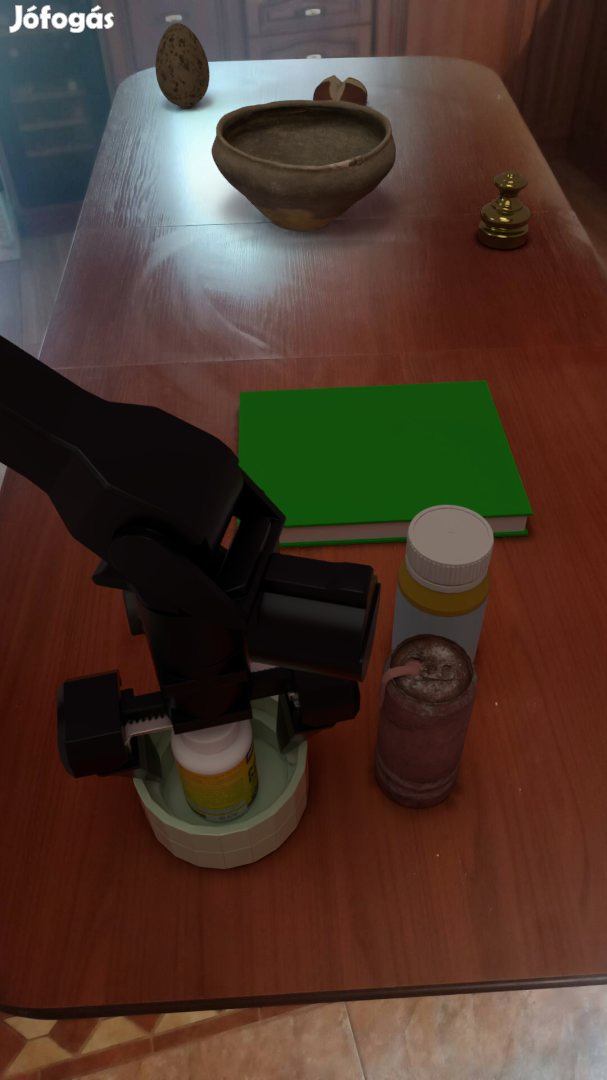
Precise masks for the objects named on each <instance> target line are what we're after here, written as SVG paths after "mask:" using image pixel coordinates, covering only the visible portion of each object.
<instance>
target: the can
mask: <svg viewBox="0 0 607 1080" xmlns="http://www.w3.org/2000/svg"><path fill="white" fill-rule="evenodd" d="M478 681H479V677H478V673H477V669H476V665H475V664H474V662H473V663H472V659H471V658H470V656H469V655H468V653H467V652H466V650H465V649H464V648H463V647H462V646H460V645H459V644H458V643H457V642H455V641H454V640H451V639H449V638H447V637H445V636H442V635H436V634H431V633H430V634H417V635H414V636H411V637H408V638H406V639H404V640H403V641H402V642H400V643H399V644H398V645H397V646H396V647H395V648H394V649H393V650H392V649H391V650H390V652H389V653H388V654H387V656H386V658H385V660H384V662H383V667H382V671H381V678H380V682H379V689H378V702H379V703H378V704H379V707H378V720H377V732H376V746H375V759H374V772H375V779H376V781H377V782H378V785H379V787H380V789H381V790H382V791H383V792H384V793H385V794H386V795H387V797H389V798H390V799H391V800H393V801H395V802H396V803H398V804H400V805H401V806H404V807H410V808H414V809H419V808H420V809H421V808H431V807H432V806H435V805H437V804H440V803H441V802H442V801H444V800H445V799H446V798H447V797H448V796H449V795H450V794H451V793H452V790H453V789H454V786H455V785H456V781H457V776H458V772H459V769H460V768H459V767H460V763H461V759H462V754H463V750H464V746H465V742H466V737H467V734H468V729H469V725H470V721H471V716H472V712H473V708H474V704H475V699H476V695H477V691H478V690H477V689H478Z"/></svg>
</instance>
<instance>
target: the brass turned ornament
mask: <svg viewBox="0 0 607 1080" xmlns="http://www.w3.org/2000/svg"><path fill="white" fill-rule="evenodd" d="M492 182H493V185H494V186H495V187H496V188H497V189H498V191H499V193H498V194H497V196H496V197H494V198H493V199H492V200H490V201H488V202H487V203H484V205H482V207H481V208H480V213H479V215H480V216H479V217H480V221H479V222H478V231H477V239H478V241H479V242H480V243H481V244H482V245H484V246H486V247H488V248H491V249H496V250H512V249H517V248H519V247H521V246H523V245H524V244H525V243H526V242H527V238H528V232H529V230H530V227H529V223H530V220H531V218H532V212H531V209H530V208H529V206H528V205H527V204H525V203H524V202H523V201H522V199H521V198H520V197H519V193H520V192H521V191H523V190H524V189H526V188H527V187H528V185H529V178H528V177H527V176H526V175H524V174H522V173H521V172H519V171H518V170H515V169H509V170H506V171H503V172H500V173H498V174H496V175H495V176H494V177H493V179H492Z"/></svg>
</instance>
